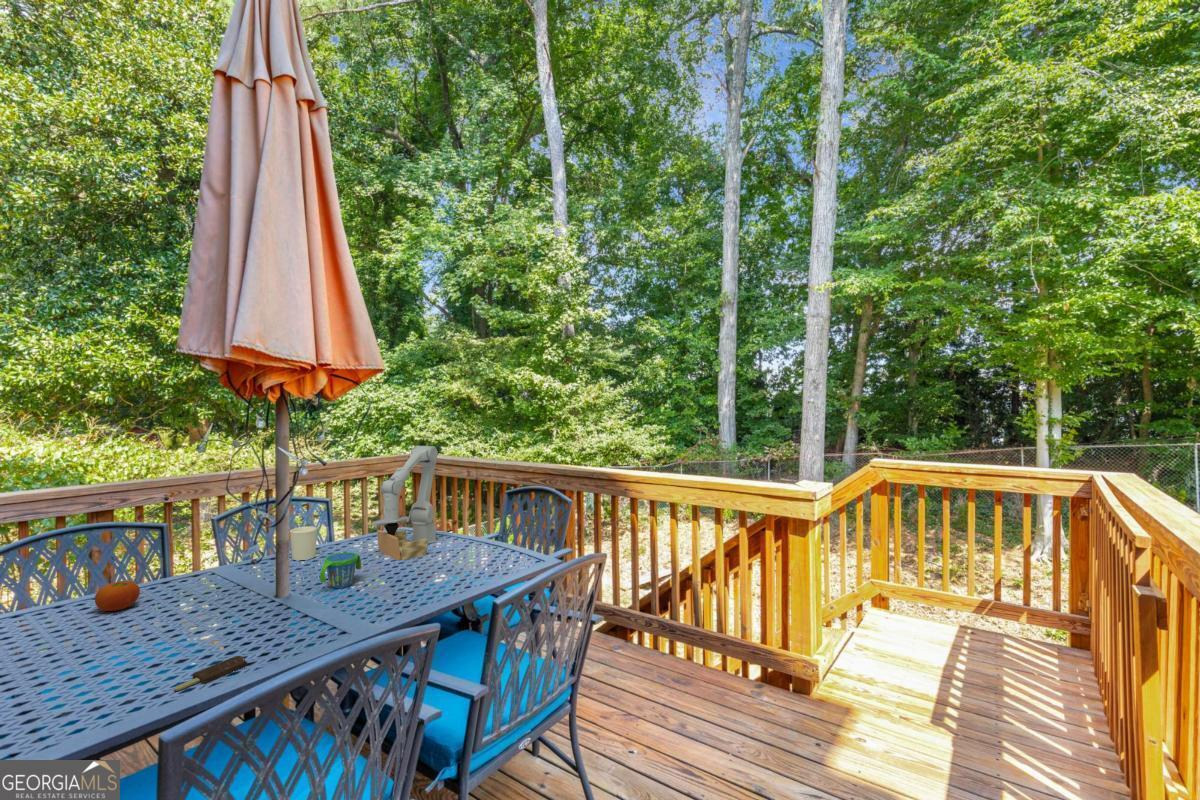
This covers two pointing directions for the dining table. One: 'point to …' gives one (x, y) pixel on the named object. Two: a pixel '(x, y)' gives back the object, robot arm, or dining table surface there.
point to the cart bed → (411, 546)
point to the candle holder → (303, 542)
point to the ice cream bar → (215, 672)
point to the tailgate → (389, 544)
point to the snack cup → (340, 569)
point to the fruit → (117, 595)
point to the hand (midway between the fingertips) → (391, 541)
